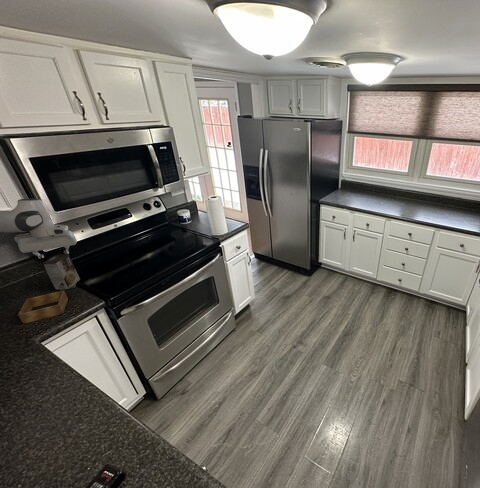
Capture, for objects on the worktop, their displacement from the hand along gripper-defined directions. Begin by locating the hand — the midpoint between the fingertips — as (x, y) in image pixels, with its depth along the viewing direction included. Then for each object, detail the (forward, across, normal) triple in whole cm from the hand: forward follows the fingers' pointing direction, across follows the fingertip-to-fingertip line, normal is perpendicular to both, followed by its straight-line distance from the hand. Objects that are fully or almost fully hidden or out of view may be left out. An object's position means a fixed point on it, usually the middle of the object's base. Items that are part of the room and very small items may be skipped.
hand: (54, 255), depth 134 cm
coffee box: (+18, 0, 0) cm, 18 cm away
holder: (+18, -5, -21) cm, 28 cm away
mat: (+18, 0, 0) cm, 18 cm away
